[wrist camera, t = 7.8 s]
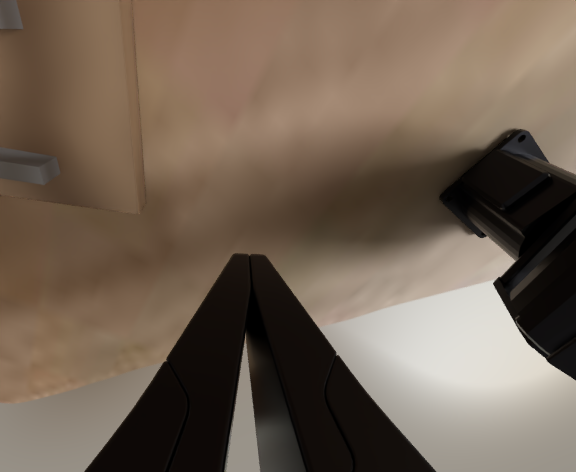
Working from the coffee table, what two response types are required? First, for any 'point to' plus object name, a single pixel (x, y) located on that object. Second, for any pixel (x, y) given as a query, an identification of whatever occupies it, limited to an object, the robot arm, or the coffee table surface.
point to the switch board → (70, 104)
